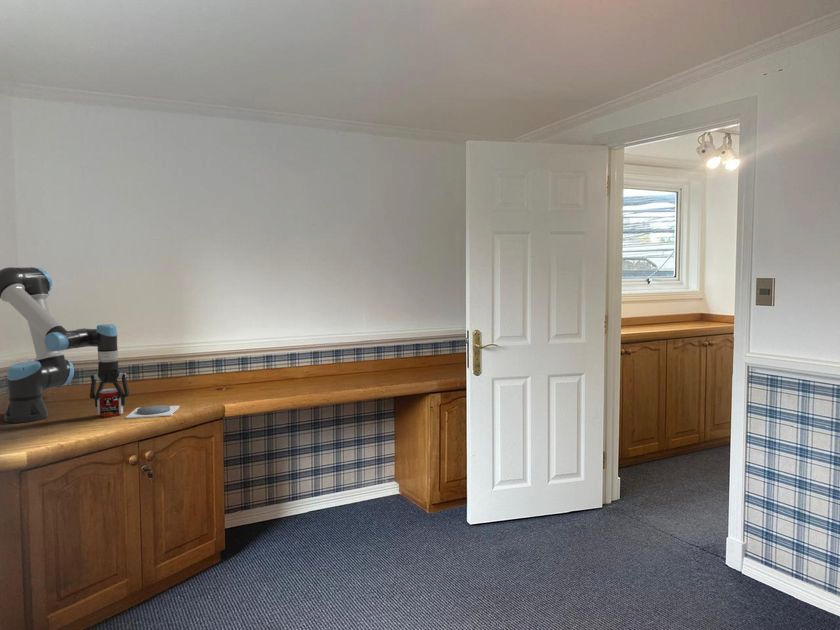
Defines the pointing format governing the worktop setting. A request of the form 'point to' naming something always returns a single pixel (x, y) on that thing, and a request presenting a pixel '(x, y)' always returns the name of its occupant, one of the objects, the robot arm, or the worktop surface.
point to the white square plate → (153, 411)
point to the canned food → (109, 402)
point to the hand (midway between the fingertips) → (110, 413)
